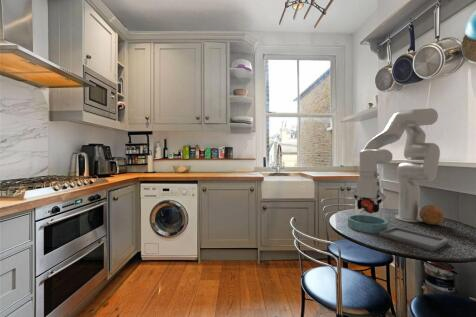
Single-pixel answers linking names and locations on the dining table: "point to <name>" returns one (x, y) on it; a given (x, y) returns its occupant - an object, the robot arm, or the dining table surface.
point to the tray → (414, 238)
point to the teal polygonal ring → (367, 223)
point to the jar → (357, 211)
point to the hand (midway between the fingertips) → (367, 210)
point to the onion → (431, 214)
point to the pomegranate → (368, 205)
